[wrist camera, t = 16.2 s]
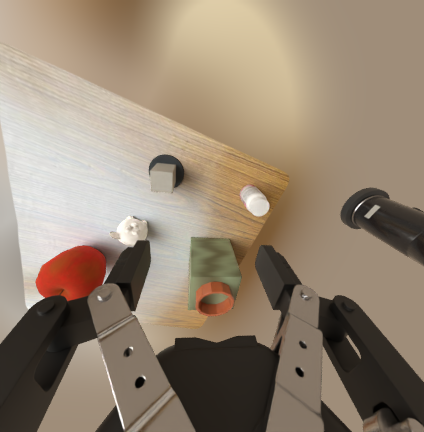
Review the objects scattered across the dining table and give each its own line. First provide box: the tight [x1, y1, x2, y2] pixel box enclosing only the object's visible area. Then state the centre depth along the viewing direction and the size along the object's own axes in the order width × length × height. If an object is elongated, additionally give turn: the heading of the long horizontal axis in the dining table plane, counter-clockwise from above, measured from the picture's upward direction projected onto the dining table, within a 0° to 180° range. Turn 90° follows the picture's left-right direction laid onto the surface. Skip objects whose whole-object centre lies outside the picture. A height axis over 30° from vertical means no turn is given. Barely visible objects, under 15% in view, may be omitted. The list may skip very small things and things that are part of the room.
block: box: [150, 163, 176, 193], centre depth 35 cm, size 4×4×7 cm
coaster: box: [149, 155, 184, 188], centre depth 38 cm, size 8×8×1 cm
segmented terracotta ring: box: [195, 282, 234, 316], centre depth 37 cm, size 8×8×2 cm
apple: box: [36, 245, 106, 301], centre depth 40 cm, size 12×12×14 cm
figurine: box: [109, 216, 148, 246], centre depth 41 cm, size 8×6×7 cm
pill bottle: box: [240, 185, 269, 216], centre depth 39 cm, size 5×5×8 cm
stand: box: [188, 237, 242, 310], centre depth 44 cm, size 11×11×14 cm
